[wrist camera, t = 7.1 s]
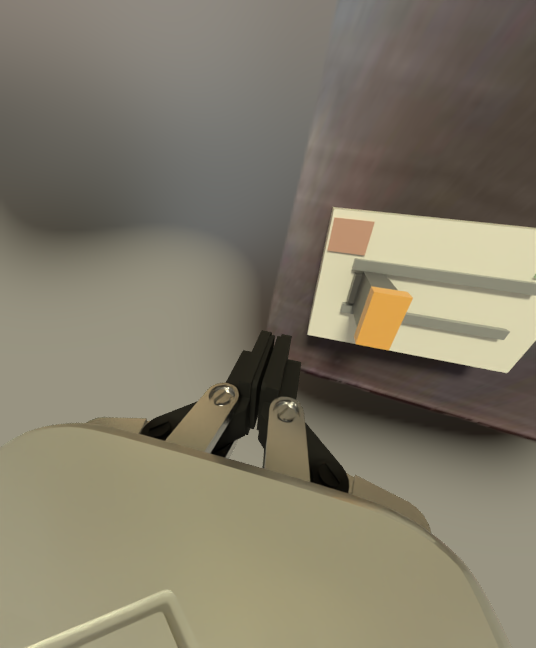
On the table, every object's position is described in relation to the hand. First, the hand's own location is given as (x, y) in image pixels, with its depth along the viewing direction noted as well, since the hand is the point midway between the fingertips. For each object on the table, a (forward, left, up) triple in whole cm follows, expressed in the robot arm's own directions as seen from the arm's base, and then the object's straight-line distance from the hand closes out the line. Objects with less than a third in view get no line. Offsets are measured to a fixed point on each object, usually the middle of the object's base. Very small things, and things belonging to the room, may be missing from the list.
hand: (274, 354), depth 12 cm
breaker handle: (-7, 0, -14) cm, 16 cm away
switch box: (-13, 0, -19) cm, 23 cm away
